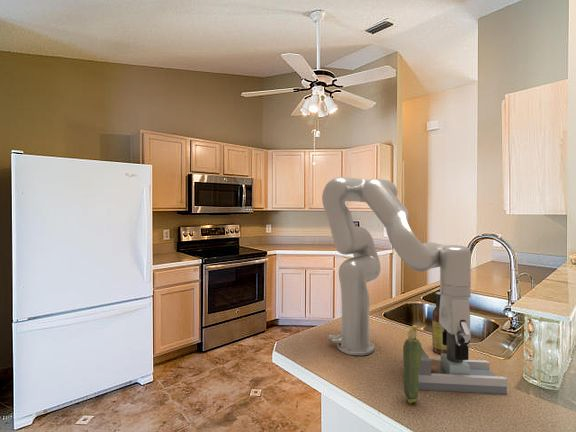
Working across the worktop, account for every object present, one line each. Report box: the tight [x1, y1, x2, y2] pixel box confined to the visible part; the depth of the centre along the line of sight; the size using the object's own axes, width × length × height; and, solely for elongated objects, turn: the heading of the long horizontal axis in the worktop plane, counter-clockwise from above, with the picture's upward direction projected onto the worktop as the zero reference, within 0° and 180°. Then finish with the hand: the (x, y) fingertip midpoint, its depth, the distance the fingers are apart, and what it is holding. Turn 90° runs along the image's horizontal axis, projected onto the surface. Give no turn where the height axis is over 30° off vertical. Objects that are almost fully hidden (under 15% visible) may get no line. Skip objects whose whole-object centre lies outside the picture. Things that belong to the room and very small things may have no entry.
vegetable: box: [402, 324, 423, 405], centre depth 80 cm, size 4×4×20 cm
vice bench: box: [418, 348, 508, 395], centre depth 89 cm, size 23×10×8 cm, turn 84°
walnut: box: [430, 359, 441, 374], centre depth 89 cm, size 4×4×3 cm
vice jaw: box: [440, 331, 470, 375], centre depth 88 cm, size 5×7×12 cm
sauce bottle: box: [431, 291, 447, 355], centre depth 107 cm, size 6×6×20 cm
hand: (454, 351), depth 88 cm, fingers open, 8 cm apart
